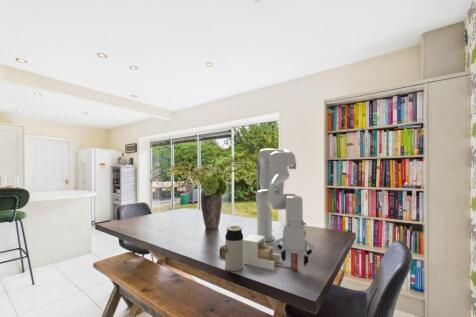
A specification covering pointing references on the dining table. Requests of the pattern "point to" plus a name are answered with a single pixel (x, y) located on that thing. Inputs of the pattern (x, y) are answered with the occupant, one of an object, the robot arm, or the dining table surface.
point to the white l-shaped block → (252, 253)
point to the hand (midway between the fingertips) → (294, 262)
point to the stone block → (222, 251)
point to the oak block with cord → (267, 254)
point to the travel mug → (234, 248)
